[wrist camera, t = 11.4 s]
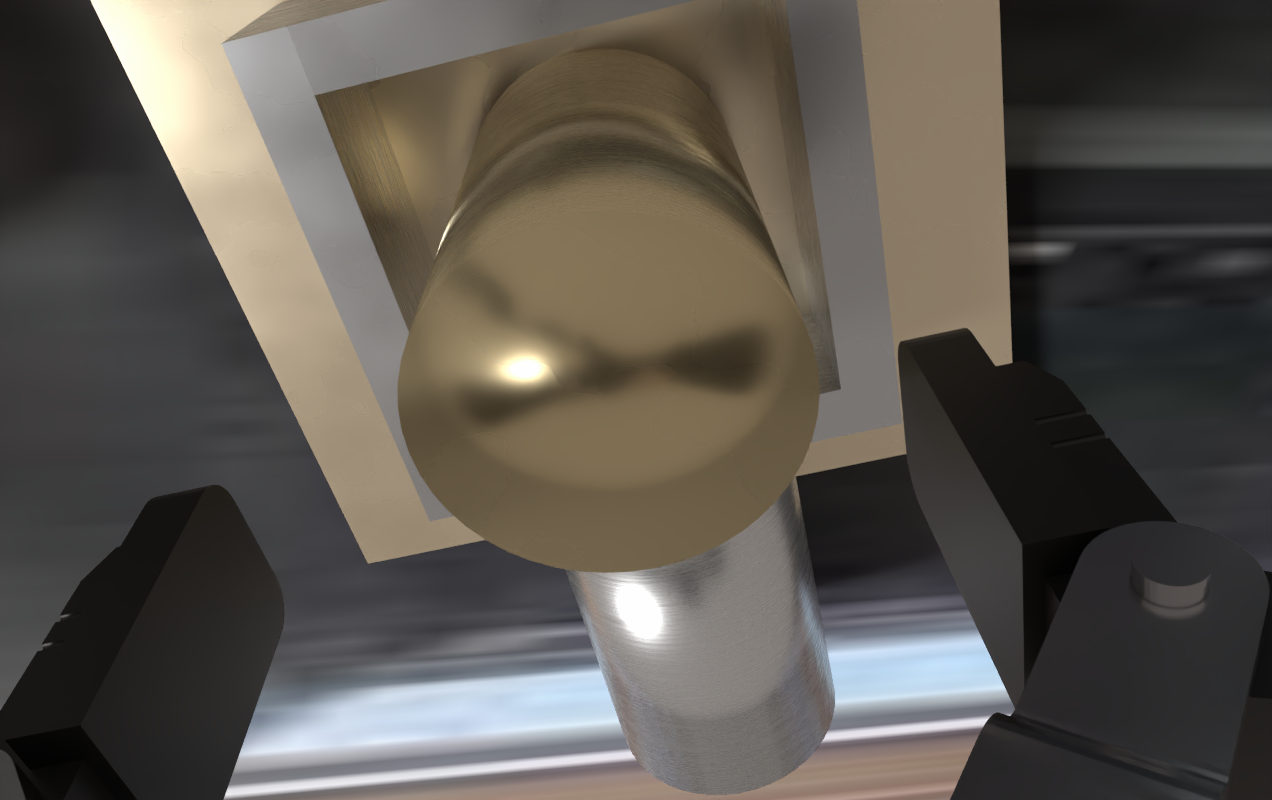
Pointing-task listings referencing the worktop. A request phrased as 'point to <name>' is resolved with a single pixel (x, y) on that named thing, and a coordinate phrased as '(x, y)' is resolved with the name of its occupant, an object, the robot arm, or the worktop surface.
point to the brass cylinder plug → (607, 328)
